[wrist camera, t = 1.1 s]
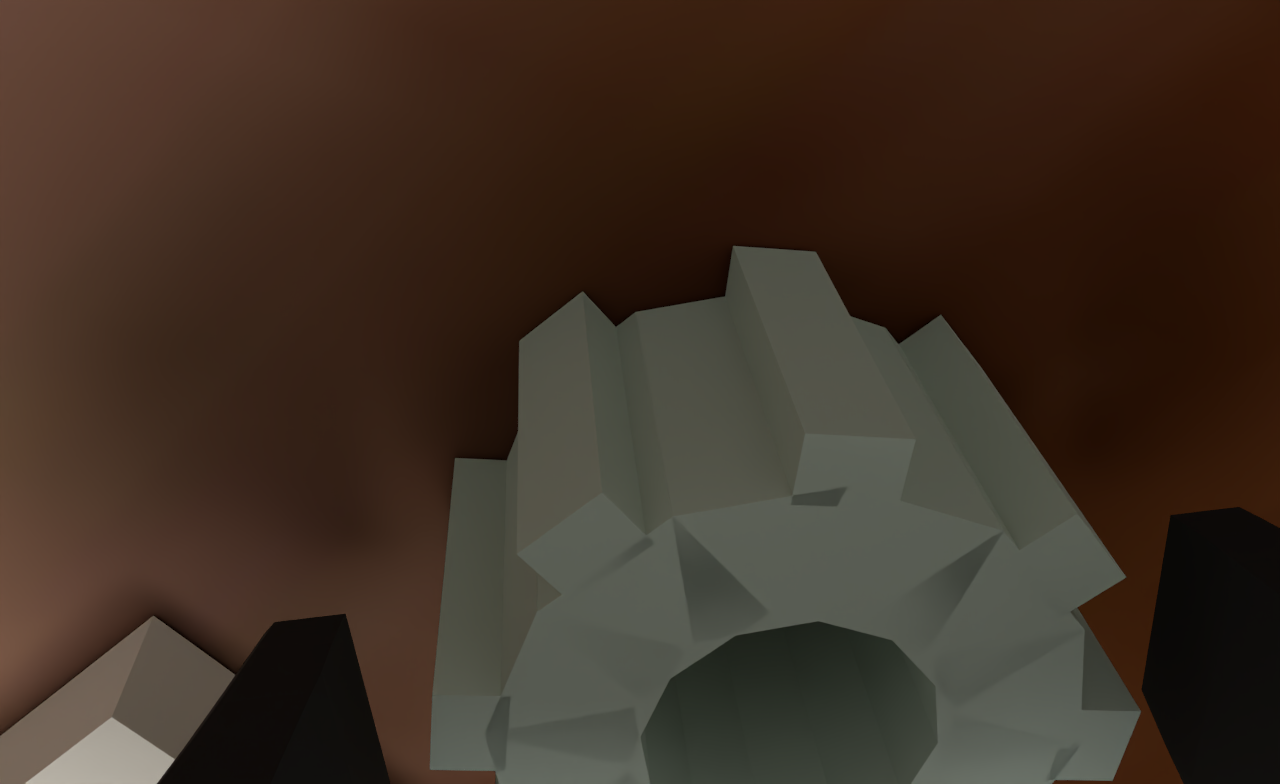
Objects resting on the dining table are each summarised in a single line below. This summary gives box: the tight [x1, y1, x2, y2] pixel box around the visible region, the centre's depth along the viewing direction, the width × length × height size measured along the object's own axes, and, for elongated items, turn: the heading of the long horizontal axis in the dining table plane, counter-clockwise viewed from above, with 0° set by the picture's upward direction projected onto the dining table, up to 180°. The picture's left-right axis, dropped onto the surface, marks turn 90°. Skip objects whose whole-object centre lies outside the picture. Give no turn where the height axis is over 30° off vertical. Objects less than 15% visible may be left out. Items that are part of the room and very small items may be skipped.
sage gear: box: [430, 246, 1141, 784], centre depth 11 cm, size 6×6×3 cm
